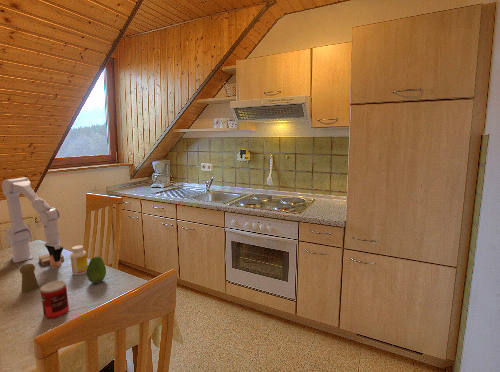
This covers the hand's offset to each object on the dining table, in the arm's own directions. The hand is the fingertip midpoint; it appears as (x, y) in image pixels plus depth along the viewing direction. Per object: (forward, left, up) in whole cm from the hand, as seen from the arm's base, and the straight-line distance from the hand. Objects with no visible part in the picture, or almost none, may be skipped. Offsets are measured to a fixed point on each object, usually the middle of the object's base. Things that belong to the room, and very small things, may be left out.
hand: (55, 259), depth 148 cm
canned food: (+46, -11, -4) cm, 47 cm away
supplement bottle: (+17, +6, -4) cm, 18 cm away
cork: (+18, -14, -4) cm, 23 cm away
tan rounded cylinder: (0, 0, -4) cm, 4 cm away
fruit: (+33, +8, -4) cm, 34 cm away
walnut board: (-9, 0, -4) cm, 9 cm away
